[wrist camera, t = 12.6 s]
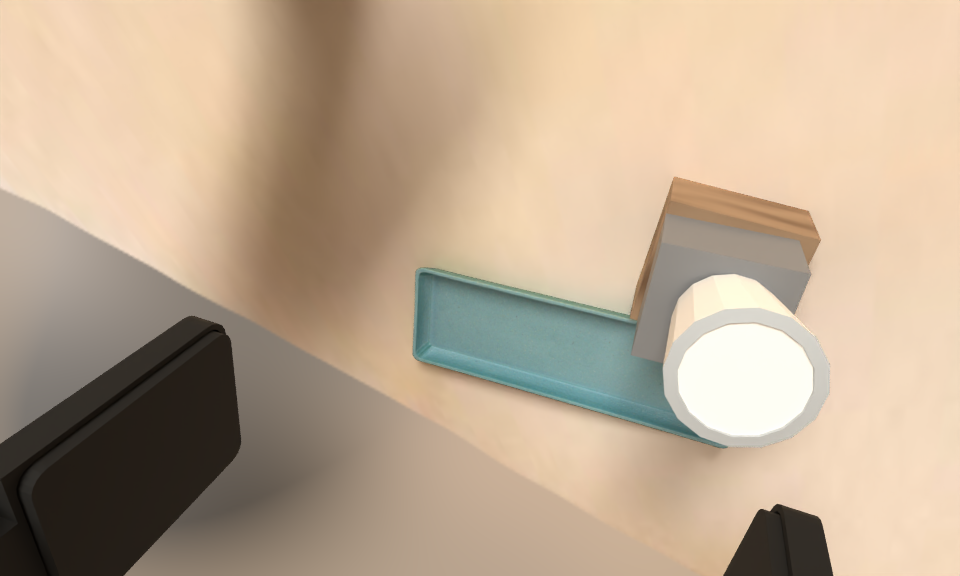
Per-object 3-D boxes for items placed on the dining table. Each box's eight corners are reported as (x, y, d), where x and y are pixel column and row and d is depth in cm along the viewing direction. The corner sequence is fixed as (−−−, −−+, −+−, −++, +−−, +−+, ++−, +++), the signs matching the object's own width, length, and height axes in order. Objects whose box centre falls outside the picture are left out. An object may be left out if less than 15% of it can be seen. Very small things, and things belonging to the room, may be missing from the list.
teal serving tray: (421, 347, 54) (409, 362, 52) (425, 255, 49) (413, 268, 47) (727, 430, 48) (728, 451, 46) (764, 334, 43) (767, 353, 41)
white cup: (807, 366, 32) (846, 436, 26) (677, 390, 35) (683, 460, 28) (779, 247, 31) (813, 290, 24) (645, 280, 33) (644, 328, 27)
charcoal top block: (665, 213, 36) (661, 242, 32) (799, 240, 34) (811, 274, 31) (637, 318, 40) (630, 355, 36) (756, 347, 38) (762, 389, 34)
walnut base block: (674, 175, 40) (670, 200, 36) (808, 210, 38) (820, 240, 34) (636, 284, 44) (629, 318, 40) (755, 319, 43) (761, 358, 38)
